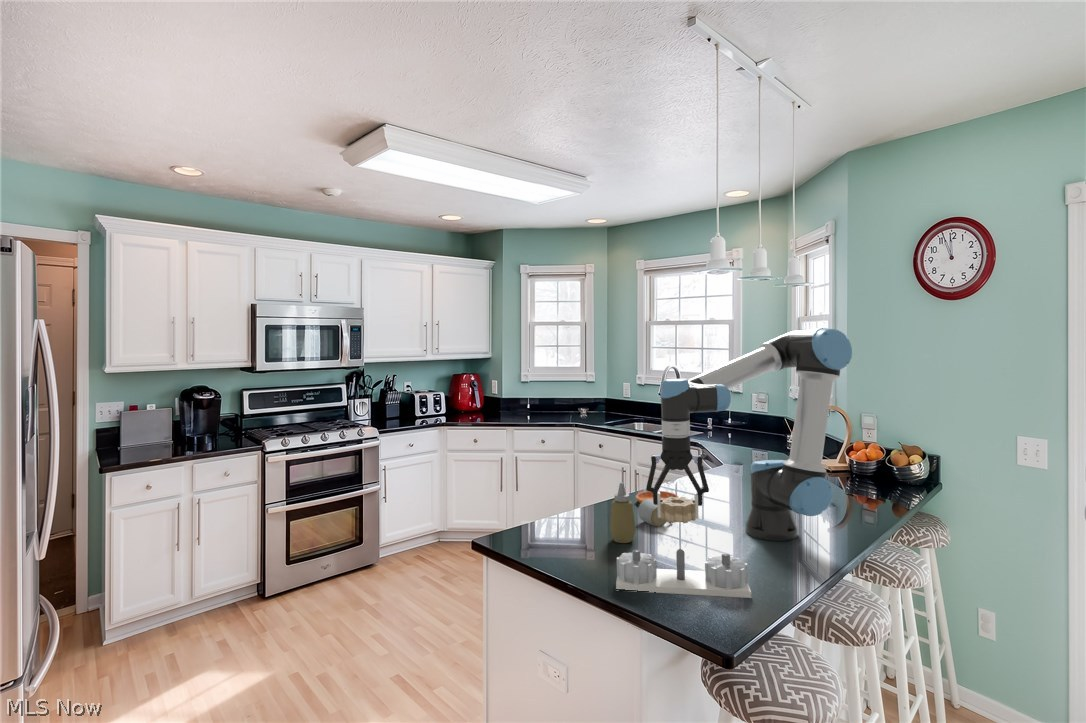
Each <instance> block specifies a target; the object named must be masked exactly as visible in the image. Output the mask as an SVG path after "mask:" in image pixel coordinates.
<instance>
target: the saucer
mask: <svg viewBox="0 0 1086 723" xmlns="http://www.w3.org/2000/svg"><path fill="white" fill-rule="evenodd" d="M658 492H660V499H666V498H668V497H679V495H677V494H676V493H672V492H670V491H664V490H658ZM647 499H651V500H653V493H652V492H650V491H647V490H645V491H642V492H639V493H637V494H636V495H635V500H636V501H637V502H638V503H639V505H640V504H641V503H642V502H643V501H644V500H647Z"/></svg>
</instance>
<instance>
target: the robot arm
mask: <svg viewBox="0 0 1086 723" xmlns="http://www.w3.org/2000/svg"><path fill="white" fill-rule="evenodd" d="M852 356H853V348H852V344H851V341H850V339H848V338H847V335H846V334H845V333H844V332H842V331H840V330H839V329H836V328H826V327H825V328H824V327H823V328H810V329H795V330H792V331H791V330H790V331H789V332H787V333H784V334H782V335H778V336H776V337H775V338H772V339H770V340H769V341H766V342H764V343H762V344H761V345H760V346H759V348H757V349H756V350H754V351H751V352H749V353H746V354H743V355H742V356H740V357H737V358H736V359H732V360H730V361H729V362H725V363H723V364H721V365H719V366H717V367H714V368H712V369H709V370H707V371H705V372H703V373H701V374H698V375H697V376H694V377H691V378H689V379H686V378H668V379H664V380H663V381H662V382H661V385H660V386H661V387H660V396H659V397H660V402H661V404H660V407H661V408H660V409H661V411H660V412H661V434H662V435H663V436H662V437H661V447H662V448H661V450H662V451H661V454H658V455H657V454H652V455H651V456H650V459H651V465H650V468H649V469H650V470H649V473H648V474H649V475H648V479H647V482H646V487H645V489H646V490H645V491H650V492H652V493H653V503H654V505H658V518H661V507H660V492H658V491H660V489H661V486H662V484H663V483H664V481H665V479H666V477H667V475H668V474H669V471H670V470H671V471H675V470H677V471H683V470H684V471H685V473H686V475H687V477H688V478H689V479H690V480H689V481H690V482H691V484H692V486H693V487H694V489H695V491H694V493H693V494H694V499H693V500H695V511H696V520H698V519H699V518H700V517H699V507H702V506H703V494H706V493H709V491H710V489H709V485H708V481H707V478H706V475H705V470H704V467H703V456H702V455H701V454H697V455H694V454H692V452H691V437H690V436H689V435H690V434H691V422H690V421H691V419H690V418H691V417H690V416H691V414H695V413H710V412H711V413H712V412H713V413H714V412H715V413H717V412H722V411H726V410H727V409H729V407H730V405H731V401H732V399H731V392H730V389H732V388H734V387H736V386H738V385H741V384H744V383H746V382H748V381H750V380H753V379H754V378H758V377H760V376H761V375H764V374H766V373H768V372H775V373H776V372H779V371H781V370H784V369H789V368H795V373H796V375H798V377H799V385H798V386H799V387H798V393H797V394H798V395H797V401H796V408H795V415H794V416H795V417H794V423H793V430H792V436H791V437H792V438H791V442H790V443H791V444H790V452H789V458H788V459H786V460H785V459H767V460H765V459H763V460H755V461H753V462H752V463H751V464H750V472H749V474H750V502H751V503H750V507H751V508H750V509H749V514H748V516H747V520H746V521H745V522H746V523H745V532H746V533H747V534H748V535H750V536H752V537H754V538H756V539H761V540H765V541H773V542H783V541H784V542H785V541H790V540H795V539H796V538H797V537H798V526H797V524H796V522H795V519H794V514H793V512H794V513H796V514H798V515H803V516H806V517H815V516H819V515H820V514H822V513H823V512H824V511H826V510H828V508H829V507H830V505H831V503H832V500H833V496H834V490H833V487H832V486H831V483H830V482H829V481H828V480H827V479H826V476H827V468H825V467H824V466H823V456H824V450H825V449H824V448H825V442H826V433H827V428H828V427H827V426H828V419H829V412H830V411H829V410H830V406H831V405H830V404H831V396H832V388H833V383H834V382H835V381H836V380H837V379H839V378H840V374H841V370H843V369H844V368H846V367H847V366H848V364H850V362H851V360H852ZM692 460H693V462H694V464H696V466H697V469H698V470H697V471H698V473H699V477H700V480H701V483H702V484H701V485H702V487H700V484H699V483H698V481H697V480H696V477H695V476H694V474H693V472H692V470H691V469H690V467H689V464H690V463H691V461H692ZM660 461H662V462H663V463H664V466H663V469H662V471H661V473H660V474H659V476H658V478H657V480H656V482H655V484H654V486H653V482H654V477H655V473H656V469H657V464H659V463H660Z"/></svg>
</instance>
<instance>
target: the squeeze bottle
mask: <svg viewBox="0 0 1086 723" xmlns="http://www.w3.org/2000/svg"><path fill="white" fill-rule="evenodd" d="M633 505H634V504H633V502H632V501H631V500H630V494H629V493H627V491H626V487H625V483H624V482H619V485H618V490H617V492H616V493H615V494H614V500H613V501H612V502H611V509H610V510H611V511H610V521H609V522H610V523H609V532H610V534H611V536H612V541H613V542H615V543H619V544H630V543H632V541H633V539H634V537H635V533H636V528H637V527H636V521H635V513H634V506H633Z"/></svg>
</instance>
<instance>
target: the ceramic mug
mask: <svg viewBox="0 0 1086 723" xmlns="http://www.w3.org/2000/svg"><path fill="white" fill-rule="evenodd" d="M637 510H638V511H637V512H638V513H637V514H638V517H639V519H640V520H642V521H643V522H646V523H647V524H648V525H651V526H653V527H656V528H660V527H663V526H664V525H665V524H666V523H670V524H671V522H670V521H668V520H662V519H661V518H658V505H654V503H653V500H651V499H647V500H644V501H643V502H642V503H641V504H640V503H639V506H638V509H637Z"/></svg>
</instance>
